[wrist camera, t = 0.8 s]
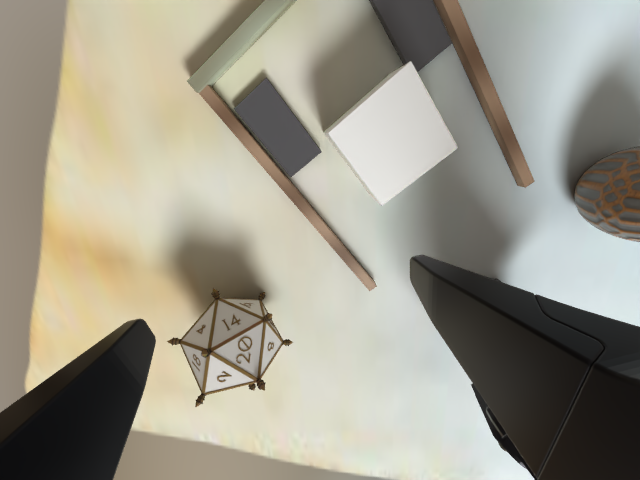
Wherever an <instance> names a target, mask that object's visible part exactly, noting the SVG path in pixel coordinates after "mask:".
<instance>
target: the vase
mask: <svg viewBox="0 0 640 480" xmlns="http://www.w3.org/2000/svg"><path fill="white" fill-rule="evenodd" d="M575 204H576V207H577V209H578V211H579V213H580V214H581V216H582V217H583V218H584V219H585V220H586V221H588V222H589V223H590V224H591V225H593V226H594V227H596V228H598V229H599V230H601V231H604V232H606V233H608V234H611V235H613V236H616V237H619V238H623V239H626V240H631V241H637V242H640V146H639V147H634V148H629V149H625V150H622V151H619V152H616V153H613V154H611V155H609V156H607V157H605V158H603V159H601V160H600V161H598V162H597V163H595V164H594V165H593V166H591V167H590V168H589V169H588V170H587V171H586V172H585V173H584V174H583V175H582V177H581V178H580V179H579V181H578V183H577V186H576V189H575Z"/></svg>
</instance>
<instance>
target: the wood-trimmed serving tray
mask: <svg viewBox="0 0 640 480" xmlns="http://www.w3.org/2000/svg"><path fill="white" fill-rule="evenodd" d="M296 1H297V0H264V1H263V2H262V4H261V5H260V6H259V7H258V8H257V9H256V10H255V11H254V12H253V13H252V14H251V15H250V16H249V17H248V18H247V19H246V20H245V21H244V22H243V23H242V24H241V25H240V26H239V27H238V28H237V30H236V31H235V32H234V33H233V34H232V35H231V36H230V37H229V38H228V39H227V40H226V41H225V42H224V43H223V44H222V45H221V46H220V47H219V48H218V49H217V50H216V51H215V52H214V53H213V54H212V56H211V57H210V58H209V59H208V60H207V61H206V62H205V63H204V64H203V65H202V66H201V67H200V68H199V69H198V70H197V71H196V72H195V73H194V74H193V75H192V76H191V77H190V78H189V79H188V80H187V82H188V83H189V84H190V85H191V87H192V88H193V89H194V90H195V91H196V92H197V93H199V94H200V95H201V96H202V97H203V99H204V100H205V101H206V102H207V103H208V104H209V106H210V107H211V108H212V109H213V110H214V111H215V112H216V114H217V115H218V116H219V117H220V118H221V119H222V121H223V122H224V123H225V124H226V125H227V126H228V128H229V129H230V130H231V131H232V132H233V133H234V134H235V136H236V137H237V138H238V139H239V140H240V141H241V143H242V144H243V145H244V146H245V147H246V148H247V150H248V151H249V152H250V153H251V154H252V155H253V156H254V158H255V159H256V160H257V161H258V162H259V163H260V165H261V166H262V167H263V168H264V169H265V170H266V172H267V173H268V174H269V175H270V176H271V177H272V179H273V180H274V181H275V182H276V183H277V184H278V185H279V187H280V188H281V189H282V190H283V191H284V192H285V194H286V195H287V196H288V197H289V198H290V199H291V201H292V202H293V203H294V204H295V205H296V206H297V207H298V209H299V210H300V211H301V212H302V213H303V214H304V216H305V217H306V218H307V219H308V220H309V221H310V223H311V224H312V225H313V226H314V227H315V228H316V229H317V231H318V232H319V233H320V234H321V235H322V236H323V238H324V239H325V240H326V241H327V242H328V243H329V245H330V246H331V247H332V248H333V249H334V250H335V251H336V253H337V254H338V255H339V256H340V257H341V258H342V260H343V261H344V262H345V263H346V264H347V265H348V267H349V268H350V269H351V270H352V271H353V272H354V274H355V275H356V276H357V277H358V278H359V279H360V280H361V282H362V283H363V284H364V285H365V286H366V287H367V289H368V290H369V291H371V290H372V289H374V288H375V287H377V286H376V284H375V282H374V280H373V279H372V278H371V277H370V276H369V274H368V273H367V272H366V271H365V270H364V268H363V267H362V266H361V265H360V264H359V262H358V261H357V260H356V259H355V258H354V256H353V255H352V254H351V253H350V252H349V251H348V249H347V248H346V247H345V246H344V245H343V243H342V242H341V241H340V240H339V239H338V237H337V236H336V235H335V234H334V233H333V231H332V230H331V229H330V228H329V227H328V225H327V224H326V223H325V222H324V221H323V219H322V218H321V217H320V216H319V215H318V213H317V212H316V211H315V210H314V209H313V207H312V206H311V205H310V204H309V203H308V201H307V200H306V199H305V198H304V197H303V196H302V194H301V193H300V192H299V191H298V190H297V188H296V187H295V186H294V185H293V184H292V182H291V181H290V180H289V179H288V178H287V176H286V175H285V174H284V173H283V172H282V170H281V169H280V168H279V167H278V166H277V164H276V163H275V162H274V161H273V160H272V158H271V157H270V156H269V155H268V154H267V152H266V151H265V150H264V149H263V148H262V147H261V145H260V144H259V143H258V142H257V141H256V139H255V138H254V137H253V136H252V135H251V133H250V132H249V131H248V130H247V129H246V127H245V126H244V125H243V124H242V123H241V121H240V120H239V119H238V118H237V117H236V115H235V114H234V113H233V112H232V111H231V109H230V108H229V107H228V106H227V105H226V103H225V102H224V101H223V100H222V99H221V98H220V96H219V95H218V94H217V93H216V92H215V90H214V89H213V88H212V87H211V86H212V85H213V84H214V83H215V82H216V81H217V80H218V79H219V78H220V77H221V76H222V75H223V74H224V73H225V72H226V71H227V70H228V69H229V68H230V67H231V66H232V65H233V64H234V63H235V62H236V61H237V60H238V59H239V58H240V57H241V56H242V55H243V54H244V53H245V52H246V51H247V50H248V49H249V48H250V47H251V46H252V45H253V44H254V43H255V42H256V41H257V40H258V39H259V38H260V37H261V36H262V35H263V34H264V33H265V32H266V31H267V30H268V29H269V28H270V27H271V26H272V25H273V24H274V23H275V22H276V21H277V20H278V19H279V18H280V17H281V16H282V15H283V14H284V13H285V12H286V11H287V10H288V9H289V8H290V7H291V6H292V5H293V4H294V3H295V2H296ZM433 1H434V3H435V5H436V8H437V10H438V12H439V14H440V16H441V19H442V21H443V23H444V25H445V27H446V30H447V32H448V34H449V36H450V38H451V41H452V43H453V45H454V47H455V49H456V51H457V54H458V56H459V58H460V60H461V62H462V65H463V67H464V69H465V71H466V73H467V76H468V78H469V80H470V82H471V84H472V87H473V89H474V91H475V93H476V95H477V97H478V100H479V102H480V104H481V106H482V108H483V111H484V113H485V115H486V117H487V119H488V122H489V124H490V126H491V128H492V130H493V133H494V135H495V137H496V139H497V141H498V143H499V146H500V148H501V150H502V152H503V154H504V157H505V159H506V161H507V163H508V165H509V168H510V170H511V172H512V174H513V176H514V178H515V181H516V183H517V185H518V186H521V187H527V186H528V185H530V184H531V183H533V182H534V179H533V177H532V174H531V172H530V170H529V167H528V165H527V163H526V160H525V158H524V156H523V153H522V151H521V149H520V146H519V144H518V141H517V139H516V137H515V134H514V132H513V130H512V127H511V125H510V123H509V120H508V118H507V116H506V113H505V111H504V109H503V106H502V104H501V102H500V99H499V97H498V94H497V92H496V90H495V87H494V85H493V83H492V80H491V78H490V76H489V73H488V71H487V69H486V66H485V64H484V62H483V59H482V57H481V54H480V52H479V50H478V47H477V45H476V43H475V40H474V38H473V36H472V33H471V31H470V29H469V26H468V24H467V22H466V19H465V17H464V14H463V12H462V10H461V7H460V5H459V3H458V0H433Z"/></svg>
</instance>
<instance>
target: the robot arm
mask: <svg viewBox="0 0 640 480" xmlns="http://www.w3.org/2000/svg"><path fill="white" fill-rule="evenodd" d="M410 280H411V283H412V285H413V287H414V289H415V291H416V293H417V295H418V297H419V299H420V301H421V302H422V304H423V306H424V308H425V310H426V312H427V314H428V316H429V318H430V319H431V321H432V323H433V324H434V326H435V328H436V329H437V330H438V332H439V333H440V335H441V336H442V338H443V339H444V341H445V342H446V344H447V345H448V347H449V348H450V350H451V351H452V353H453V354H454V356H455V357H456V359H457V360H458V362H459V363H460V365H461V366H462V368H463V369H464V371H465V372H466V374H467V375H468V377H469V378H470V380H471V381H472V383H473V384H471V386H472V388H473V390H474V392H475V396H476V398H477V400H478V402H479V405H480V407H481V409H482V411H483V414H484V416H485V418H486V420H487V423H488V425H489V427H490V429H491V432H492V434H493V436H494V437H495V439H496V440H497V441H498V443H499V445H500V447H501V448H502V449H503V450H504V451H507V452H508V453H509V454H510V455H511V456H512V457H513V458H514V459H515V460H516V461H517V462H518V463H519V464H520V465H522V466H523V467H524V468H526V469H527V470H528V471H529V472H530V474H531V475H532V476H533V478H534V479H535V480H640V327H638V326H635V325H631V324H628V323H625V322H621V321H618V320H614V319H611V318H608V317H604V316H601V315H598V314H594V313H591V312H588V311H584V310H581V309H578V308H575V307H572V306H569V305H566V304H563V303H560V302H557V301H554V300H551V299H548V298H545V297H543V296H540V295H534V294H533V293H531V292H528V291H525V290H522V289H519V288H517V287H514V286H511V285H508V284H505V283H502V282H501V281H500V280H498V279H491V278H488V277H485V276H482V275H479V274H477V273H474V272H471V271H468V270H465V269H462V268H459V267H456V266H454V265H451V264H448V263H445V262H442V261H439V260H436V259H434V258H431V257H428V256H425V255H419V256H414V257H412V258H411V259H410ZM155 343H156V340H155V336H154V334H153V333H152V331H151V330H150V328H149V326H148V325H147V323H146V322H145V321H144V320H143V319H136V320H131V321H128V322H126V323H124V324H123V325H122V326H120V327H119V328H117V329H116V330H115V331H113V332H112V333H111V334H109V335H108V336H106V337H105V338H104V339H102V340H101V341H99V342H98V343H97V344H95V345H94V346H92V347H91V348H90V349H88V350H87V351H85V352H84V353H83V354H81V355H80V356H78V357H77V358H76V359H74V360H73V361H72V362H70V363H69V364H67V365H66V366H65V367H63V368H62V369H60V370H59V371H58V372H56V373H55V374H53V375H52V376H51V377H49V378H48V379H46V380H45V381H44V382H42V383H41V384H40V385H38V386H37V387H35V388H34V389H33V390H31V391H30V392H28V393H27V394H26V395H24V396H23V397H21V398H20V399H19V400H17V401H16V402H14V403H13V404H12V405H11V406H9V407H8V408H6V409H5V410H4V411H2V412H1V413H0V480H113V478H114V475H115V473H116V470H117V467H118V464H119V461H120V458H121V455H122V452H123V449H124V447H125V444H126V441H127V438H128V435H129V432H130V429H131V427H132V424H133V421H134V418H135V415H136V412H137V409H138V407H139V404H140V401H141V398H142V395H143V392H144V388H145V385H146V381H147V377H148V373H149V368H150V364H151V360H152V356H153V352H154V348H155Z"/></svg>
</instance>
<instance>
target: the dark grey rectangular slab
mask: <svg viewBox="0 0 640 480" xmlns="http://www.w3.org/2000/svg"><path fill="white" fill-rule="evenodd" d="M369 1H370V2H371V4H372V6H373V8H374V10H375V12H376V14H377V15H378V17H379V19H380V21H381V23H382V25H383V27H384V28H385V30H386V32H387V34H388V36H389V38H390V39H391V41H392V43H393V45H394V47H395V49H396V51H397V52H398V54H399V56H400V58H401V60H402V62H403V64H404V65H405V64H407V63H408V62H410V61H411V62H412V64H413V66H414V67H415V69H416V71H417V72H418V71H419V70H420V69H422V68H423V67H424V66H425V65H426V64H428V63H429V62H430V61H431V60H432V59H434V58H435V57H436V56H437V55H438V54H440V53H441V52H442V51H443V50H444V49H446V48H447V47H448V46H449V45H450V44H452V42H451V40H450V37H449V35H448V33H447V31H446V29H445V26H444V24H443V22H442V20H441V18H440V16H439V13H438V11H437V9H436V7H435V5H434V2H433V0H369ZM234 109H235V110H236V112H237V113H238V114H239V115H240V117H241V118H242V119H243V120H244V121H245V123H246V124H247V125H248V126H249V127H250V129H251V130H252V131H253V132H254V133H255V135H256V136H257V137H258V138H259V139H260V141H261V142H262V143H263V144H264V145H265V147H266V148H267V149H268V150H269V151H270V153H271V154H272V155H273V156H274V157H275V159H276V160H277V161H278V162H279V163H280V165H281V166H282V167H283V168H284V170H285V171H286V172H287V173H288V174H289V176H290V177H292V176H293V175H294V174H296V173H297V172H298V171H299V170H300V169H302V168H303V167H304V166H305V165H306V164H308V163H309V162H310V161H311V160H312V159H314V158H315V157H316V156H317V155H318V154H320V153H321V150H320V149H319V148H318V146H317V145H316V144H315V142H314V141H313V140H312V138H311V137H310V136H309V134H308V133H307V132H306V130H305V129H304V128H303V126H302V125H301V124H300V122H299V121H298V120H297V118H296V117H295V116H294V114H293V113H292V112H291V110H290V109H289V108H288V106H287V105H286V104H285V102H284V101H283V99H282V98H281V97H280V95H279V94H278V93H277V91H276V90H275V89H274V87H273V86H272V85H271V83H270V82H269V81H268V79H267V78H265V79H264V80H263V81H262V82H261V83H260V84H259V85H258V86H257V87H256V88H255V89H254V90H253V91H252V92H251V93H250V94H249V95H248V96H247V97H246V98H245V99H244V100H243V101H241V102H240V103H239V104H238V105H237V106H236V107H235V108H234Z"/></svg>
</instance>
